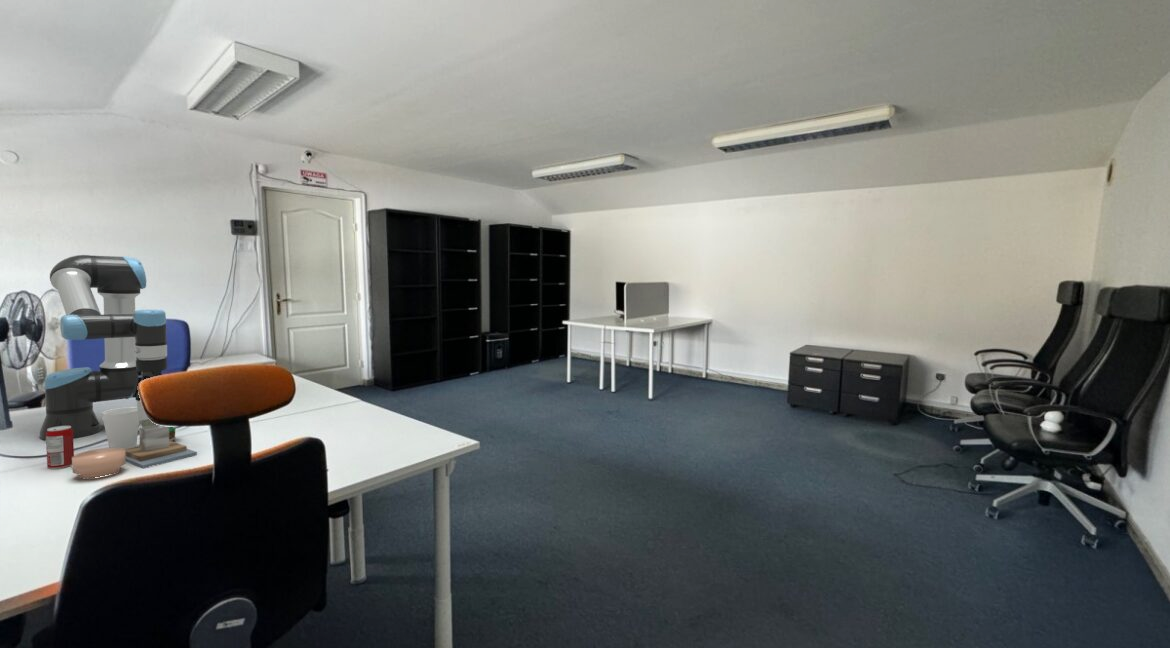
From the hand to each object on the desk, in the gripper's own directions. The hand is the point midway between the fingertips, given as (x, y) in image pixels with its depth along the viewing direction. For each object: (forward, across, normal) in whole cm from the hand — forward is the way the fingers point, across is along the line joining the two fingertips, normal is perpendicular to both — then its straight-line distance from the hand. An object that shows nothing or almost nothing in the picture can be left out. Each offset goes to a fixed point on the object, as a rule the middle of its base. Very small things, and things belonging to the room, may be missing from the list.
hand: (153, 423), depth 157 cm
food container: (+11, -14, +9) cm, 20 cm away
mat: (+11, 0, 0) cm, 11 cm away
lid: (+10, 0, 0) cm, 10 cm away
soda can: (+11, -12, -18) cm, 24 cm away
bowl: (+10, +6, -15) cm, 19 cm away
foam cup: (+11, -16, -2) cm, 19 cm away
